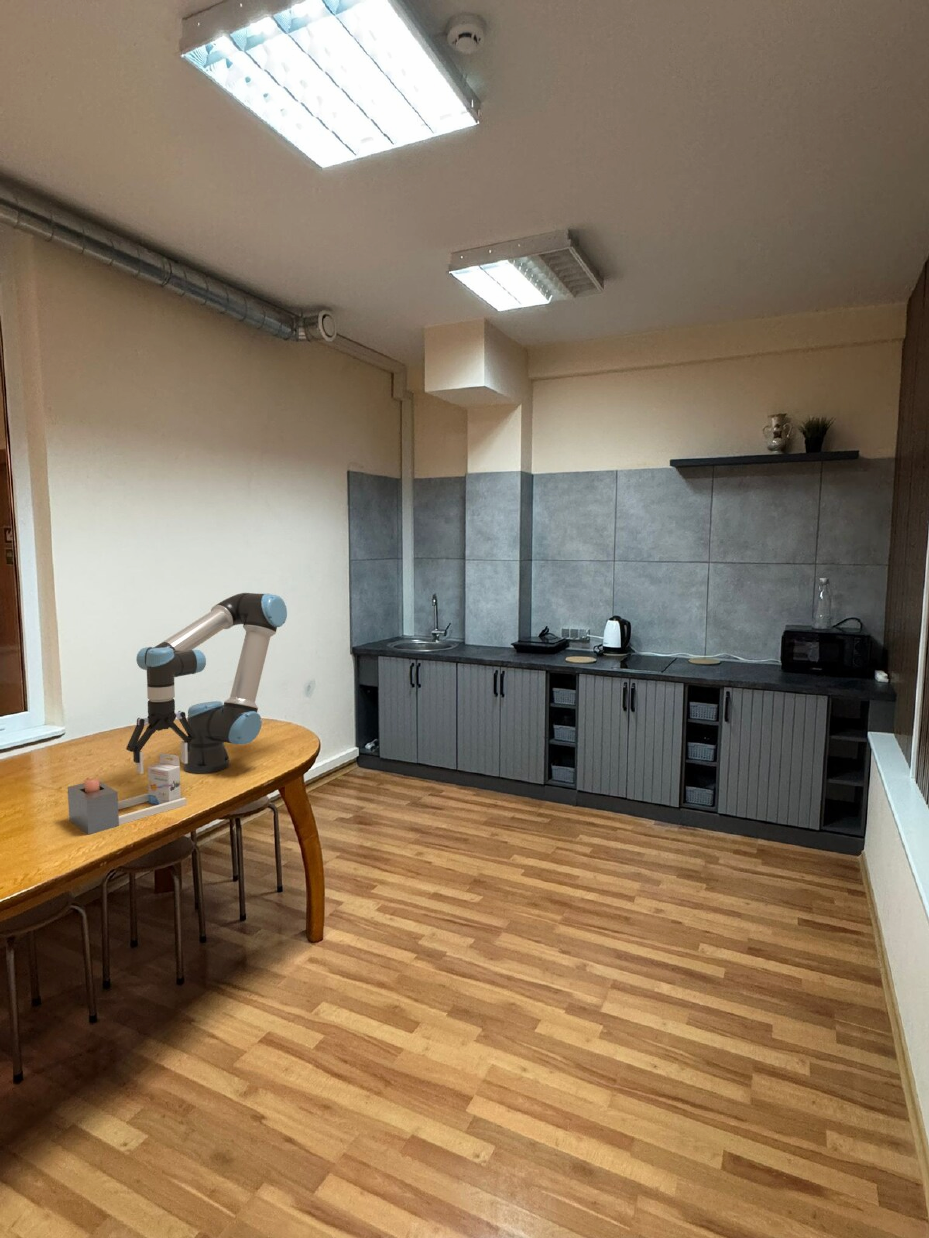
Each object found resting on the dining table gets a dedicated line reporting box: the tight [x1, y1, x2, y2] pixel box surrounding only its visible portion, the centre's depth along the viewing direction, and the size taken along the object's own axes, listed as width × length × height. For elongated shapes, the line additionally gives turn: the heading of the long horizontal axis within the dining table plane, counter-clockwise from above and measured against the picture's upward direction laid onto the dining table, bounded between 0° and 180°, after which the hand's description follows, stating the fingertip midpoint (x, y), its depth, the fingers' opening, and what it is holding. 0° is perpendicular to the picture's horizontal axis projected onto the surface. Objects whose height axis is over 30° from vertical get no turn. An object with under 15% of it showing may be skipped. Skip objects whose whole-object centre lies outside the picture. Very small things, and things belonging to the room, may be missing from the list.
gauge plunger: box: [84, 778, 100, 794], centre depth 189 cm, size 4×4×5 cm
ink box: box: [147, 752, 182, 806], centre depth 204 cm, size 8×5×15 cm, turn 69°
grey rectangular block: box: [67, 780, 120, 836], centre depth 189 cm, size 8×14×10 cm, turn 49°
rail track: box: [118, 792, 188, 826], centre depth 200 cm, size 20×13×2 cm, turn 139°
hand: (162, 767), depth 204 cm, fingers open, 13 cm apart
